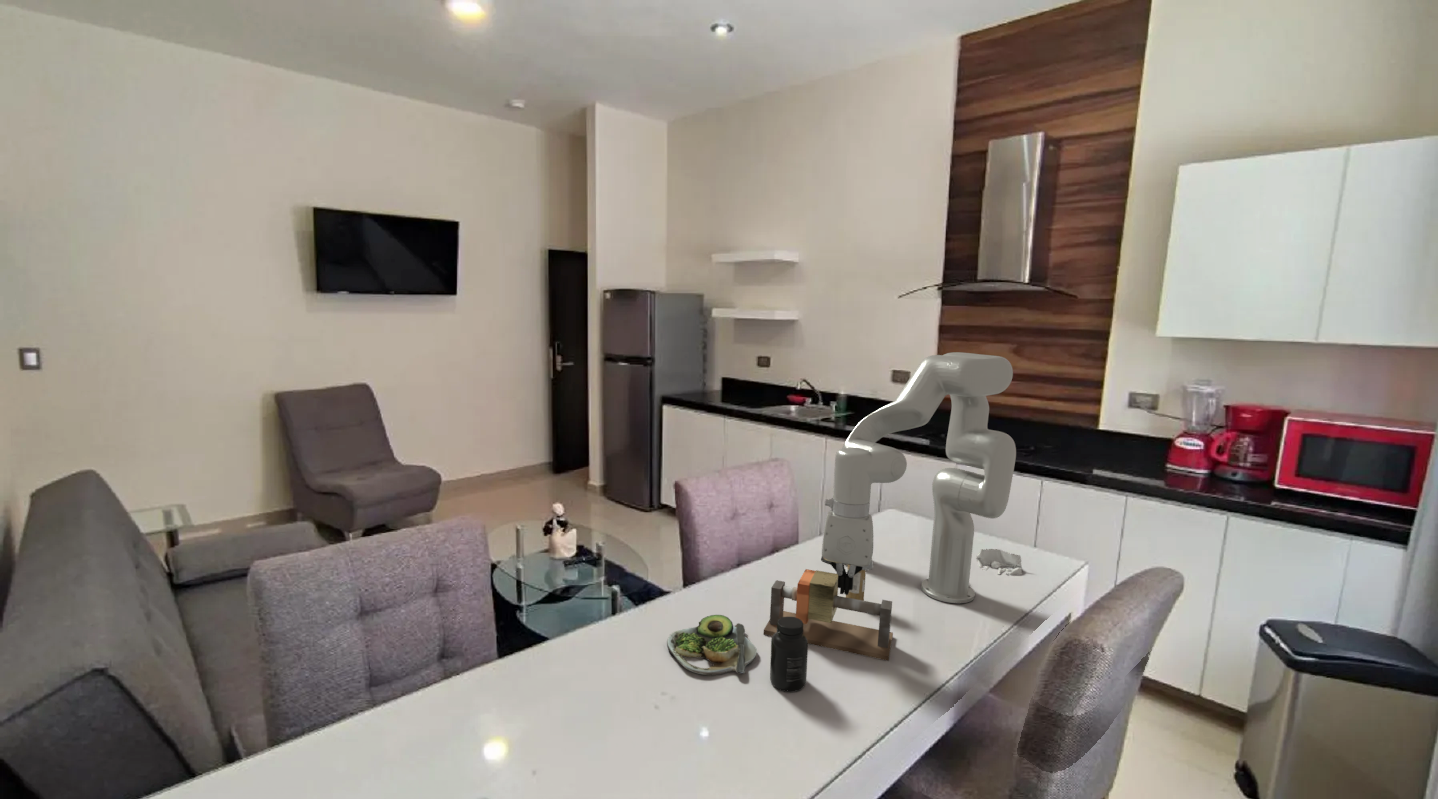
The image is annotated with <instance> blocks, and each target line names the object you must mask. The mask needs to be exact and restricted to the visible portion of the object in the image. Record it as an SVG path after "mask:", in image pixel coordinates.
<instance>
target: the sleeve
mask: <svg viewBox="0 0 1438 799" xmlns="http://www.w3.org/2000/svg"><path fill="white" fill-rule="evenodd" d="M814 571H815V573H814V575H813V577H812V579H811V581H810V585H809V602H808V619H812V620H817V621H822V622H827V623H832V621H834V617H835V615H836V612H837V609H838V608H836V607H833V605H834V596H839V595H838V594H839V588H838V574H837V573H834V572H828V571H822V570H818V569H817V570H814Z"/></svg>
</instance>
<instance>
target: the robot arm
mask: <svg viewBox="0 0 1438 799" xmlns="http://www.w3.org/2000/svg"><path fill="white" fill-rule="evenodd" d="M1013 372H1014V370H1013V366H1012V364H1011V362H1010V361H1009V360H1008V359H1007V358H1006V357H1003V356H999V355H990V354H983V353H982V354H981V353H980V354H978V353H974V352H973V353H972V352H971V353H970V352H959V351H958V352H956V351H955V352H947V353H945V354H943V355H942V354H941V355H940V354H933V355H929V356H927V357H925V358H924V359H922V361H921V362H920V363H919V364H918V366H917V367H916V369H915V370H914V371H913V373H912V374H911V376H910V377H909V378H908V380H907V382H906V383H905V385H903V388H902V389H901V391H900V392H899V394H898V395H897V397H896V398H895V399H894V400H893V401H891V402H890V403H888V404H886V405H884V406H882V407H880V408H878V409H877V410H875V411H873V412H871V413H870V414H868V415H867V416H865V417H863V419H861V420H860V421H859V422H858V423H857V424H856V426H854V428H853V429H852V431H851V432H850V434H849V435H848V437H847V438H846V439H845V442H844V444H843V446H842V447H841V448H840V449H839V450H838V449H837V451H836V454H835V457H834V472H833V488H832V489H833V490H832V498H829V499H825V502H824V505H825V506H827V507H829V508H830V510H829V511H828V512H827V515H826V518H825V521H824V528H823V535H822V536H823V537H822V548H821V558H820V561H821V562H822V563H824V564H827V565H830V566H831V567H832V568H833V569H834V570H835V572H836V574H838V589H839V594H840V595H843V594H844V595H845V596H846V595H848V593H849V590H852V589H853V577H854V575H855V574H857V573H858V572H860V571H861V570H866V571H871V570H873V568H874V562H873V554H874V523H873V516H872V514H870V506H871V505H870V503H871V489H872V484H878V483H879V484H889V483H890V484H891V483H895V482H896V481H898V480H900V479H901V478H902V477H903V476H904V475H905V473H906V470H907V466H908V465H907V464H908V463H907V458H906V456H905V455H904V453H903V452H902V451H900V450H899V449H898V448H895V447H892V446H888V445H884V444H881V443H877V442H878V441H880V440H881V439H882V438H884V437H885V436H888V435H891V434H892V433H897V432H902V431H907V430H911V429H916V428H919V427H922V426H925V425H926V424H928V423H929V422H930V421H931V418H932V417H933V415H934V414H935V413H936V411H937V409H938V408H939V406H940V404H942V402H943V400H944V399H945V397H947V395H949V397H950V400H951V411H950V416H949V424H948V431H947V436H946V442H945V443H946V444H945V455H946V457H947V458H948V459H949V460H950V461H952V462H954V463H957V464H961V465H965V466H968V467H972V468H975V469H981V470H984V474H980V473H976V472H973V471H969V470H964V469H961V468H955V467H946V468H943V469H942V468H941V469H940V470H939V471H938V472H937V473H936V474H935V475H934V477H933V479H932V484H931V485H932V486H931V490H932V492H931V493H932V498H933V524H932V526H933V527H932V535H931V546H930V560H929V570H928V578H926V579H924V580H922V582H921V591H922V592H923V593H925V595H926V596H929V597H930V598H932V599H935V600H938V601H939V602H944V603H951V604H965V603H970V602H972V601H973V600H975V595H976V594H975V593H976V592H975V590H974V588H972V586H970V578H971V577H970V576H971V568H972V566H971V565H972V558H973V548H974V547H973V546H974V539H975V538H974V537H975V524H974V520H973V517H972V515H975V516H978V517H982V518H985V519H987V518H988V519H998V518H1000V517H1001V516H1002V515H1003V514H1004V512H1005V511H1006V508H1007V506H1008V503H1009V499H1010V493H1011V487H1012V483H1013V476H1014V471H1015V464H1016V458H1017V447H1016V443H1015V441H1014V439H1013V438H1012V437H1011V436H1010V435H1009V434H1007V433H1006V432H1004V431H999V430H993V429H989V428H988V423H989V413H990V405H989V401H988V398H987V396H992V395H998V394H1001V393H1002V392H1005V391H1006V389H1008V387H1009V386H1010V385H1011V383H1012V379H1013V377H1014V373H1013ZM971 514H972V515H971ZM845 564H848V565H850V568H849V570H848V572H847V570H846V569H845ZM848 565H847V566H848Z"/></svg>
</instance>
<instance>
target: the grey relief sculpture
mask: <svg viewBox="0 0 1438 799" xmlns="http://www.w3.org/2000/svg"><path fill="white" fill-rule="evenodd" d="M975 559H976V562H977V567H978V568H980V569H982V571H988V570H989V568H992V569H997V571H998V572H997V575H1001V573H1004V572H1006V573H1005V575H1007V576H1017V575H1018V576H1019V575H1021V576H1022V575H1023V573H1022V572H1023V571H1022V570H1023V569H1022V568H1023V567H1022V558H1021V555H1020V554H1015V553H1010V552H1008V551H1005V550H1002V549H999V548H986V549H980V552H979V553H977V555H976V558H975ZM1002 566H1004V567H1002ZM984 567H985V568H984ZM1005 567H1010V568H1011V569H1008V568H1005Z"/></svg>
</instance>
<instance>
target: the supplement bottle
mask: <svg viewBox="0 0 1438 799" xmlns="http://www.w3.org/2000/svg"><path fill="white" fill-rule="evenodd" d="M770 642H771V643H770V665H769V666H770V669H769V680H770V683H771V685H772V686H773V687H774V688H776V689H778V690H780V691H782V692H787V693H788V692H790V693H791V692H792V693H794V692H798V691H800V690H802V689H803V688H804V687H806V684H807V677H808V676H807V675H808V674H807V673H808V657H809V656H808V655H809V654H808V653H809V652H808V651H809V644H808V640H807V638H806V636H805V635H804V634H803V622H802V621H801V620H800V619H798V618H796V617H788V616H787V617H782V618H780V619H779V620H778V622H777V632H776V633H775V634H774V635H773V636H771V639H770Z"/></svg>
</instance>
